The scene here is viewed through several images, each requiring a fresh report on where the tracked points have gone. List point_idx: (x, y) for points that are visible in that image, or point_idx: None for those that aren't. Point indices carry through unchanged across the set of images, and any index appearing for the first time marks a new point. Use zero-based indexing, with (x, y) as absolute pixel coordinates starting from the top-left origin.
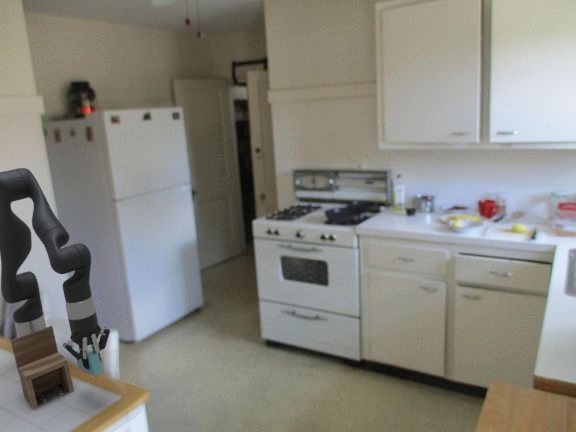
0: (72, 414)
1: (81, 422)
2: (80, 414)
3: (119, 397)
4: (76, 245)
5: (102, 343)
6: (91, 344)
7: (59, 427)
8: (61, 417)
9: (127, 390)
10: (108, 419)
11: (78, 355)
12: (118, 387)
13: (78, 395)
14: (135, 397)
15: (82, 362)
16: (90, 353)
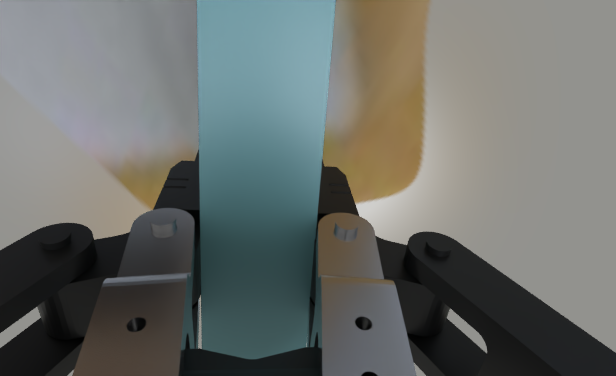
0: (112, 50)
1: (132, 153)
2: (146, 88)
3: (343, 120)
4: None
5: (430, 374)
6: (314, 331)
7: (30, 102)
8: (53, 22)
9: (401, 98)
10: None
11: (69, 359)
12: (397, 27)
13: None
14: (382, 180)
15: (162, 193)
16: (256, 276)
